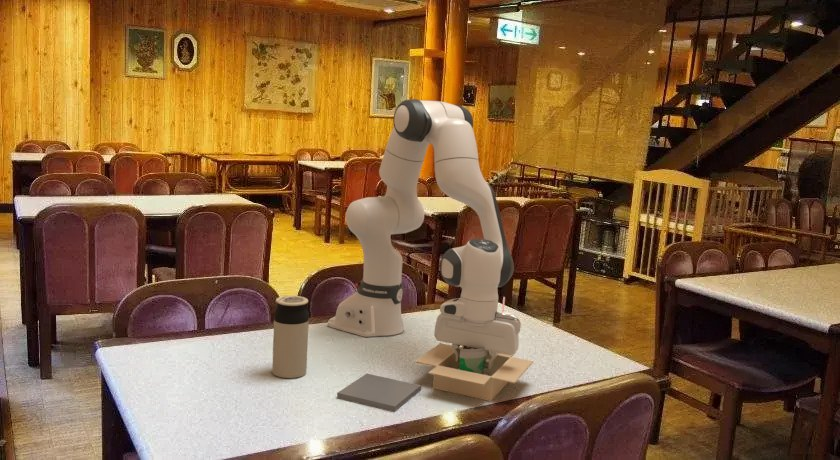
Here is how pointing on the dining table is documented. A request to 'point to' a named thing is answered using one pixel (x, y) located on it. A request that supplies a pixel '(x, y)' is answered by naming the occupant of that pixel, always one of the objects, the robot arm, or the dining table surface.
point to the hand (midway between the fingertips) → (473, 364)
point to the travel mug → (290, 337)
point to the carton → (470, 382)
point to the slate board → (379, 392)
